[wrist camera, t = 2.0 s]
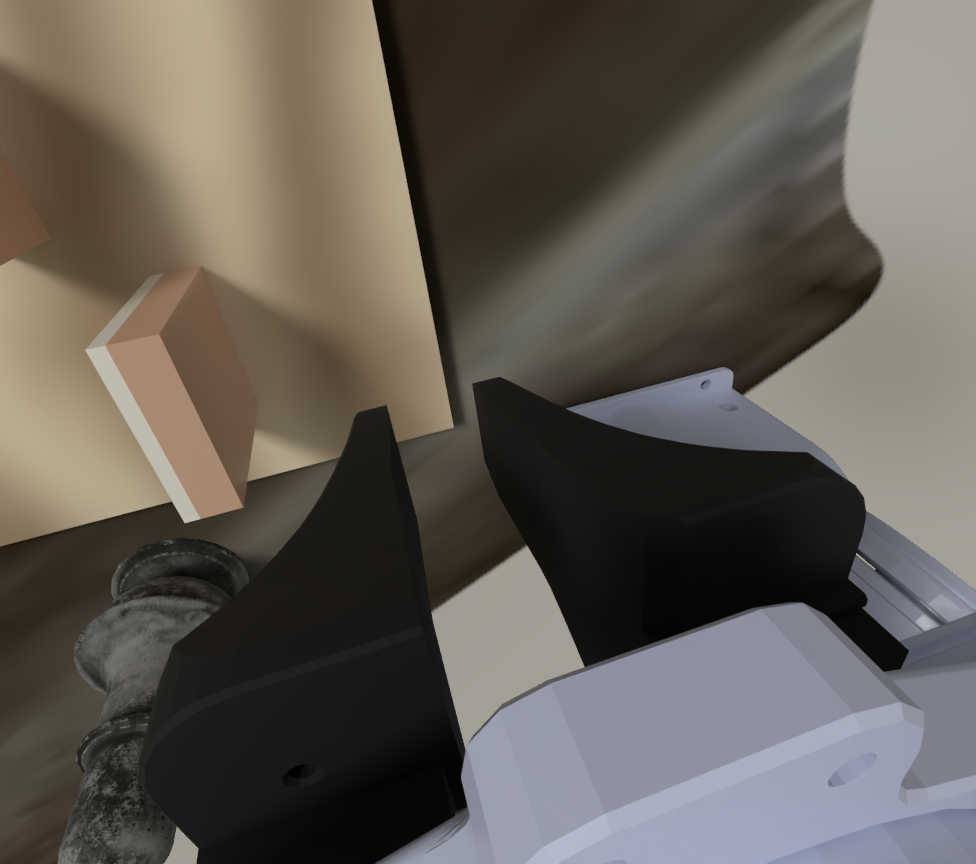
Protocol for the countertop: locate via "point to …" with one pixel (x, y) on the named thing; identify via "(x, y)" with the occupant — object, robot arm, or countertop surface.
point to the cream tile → (182, 391)
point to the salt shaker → (137, 692)
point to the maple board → (204, 233)
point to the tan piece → (16, 216)
